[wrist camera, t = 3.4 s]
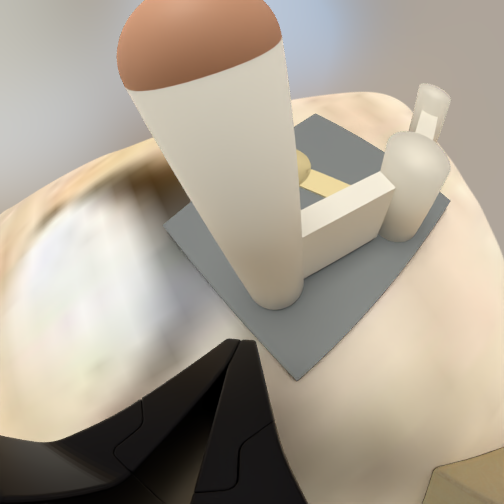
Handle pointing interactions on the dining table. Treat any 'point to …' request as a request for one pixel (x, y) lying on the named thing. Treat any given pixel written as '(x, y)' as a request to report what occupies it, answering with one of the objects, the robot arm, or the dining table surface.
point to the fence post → (240, 141)
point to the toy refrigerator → (469, 481)
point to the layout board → (326, 279)
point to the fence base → (416, 165)
